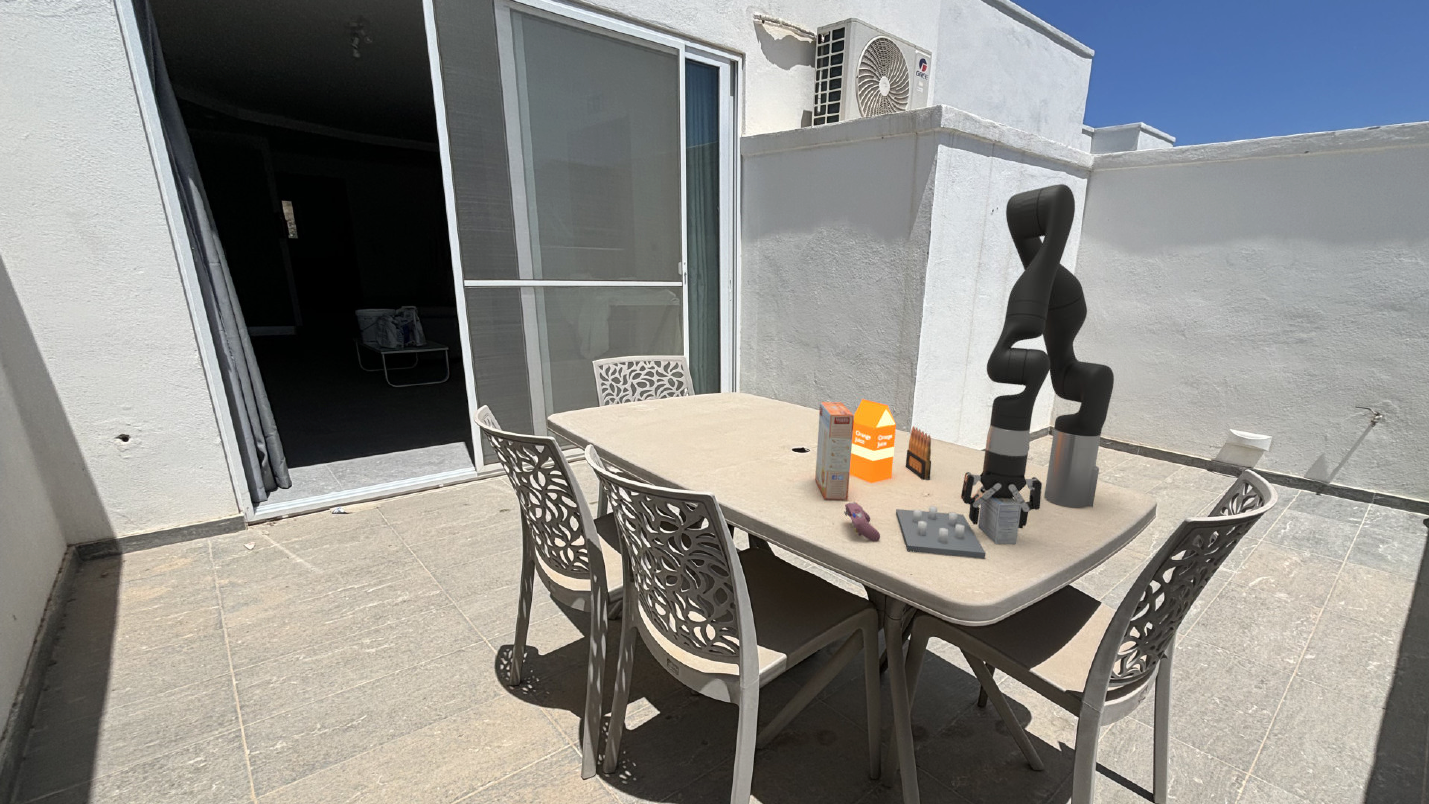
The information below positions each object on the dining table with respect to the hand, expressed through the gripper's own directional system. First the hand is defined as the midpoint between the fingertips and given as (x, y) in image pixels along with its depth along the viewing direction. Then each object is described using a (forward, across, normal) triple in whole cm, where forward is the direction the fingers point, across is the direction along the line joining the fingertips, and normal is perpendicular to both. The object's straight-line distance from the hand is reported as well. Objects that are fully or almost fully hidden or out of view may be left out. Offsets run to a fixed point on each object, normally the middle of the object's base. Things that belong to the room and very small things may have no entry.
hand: (996, 525), depth 117 cm
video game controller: (+3, +27, +4) cm, 27 cm away
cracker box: (+3, +33, -19) cm, 38 cm away
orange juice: (+3, +23, -32) cm, 39 cm away
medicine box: (+3, 0, 0) cm, 3 cm away
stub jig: (+2, +12, +2) cm, 12 cm away
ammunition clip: (+3, +10, -37) cm, 38 cm away
